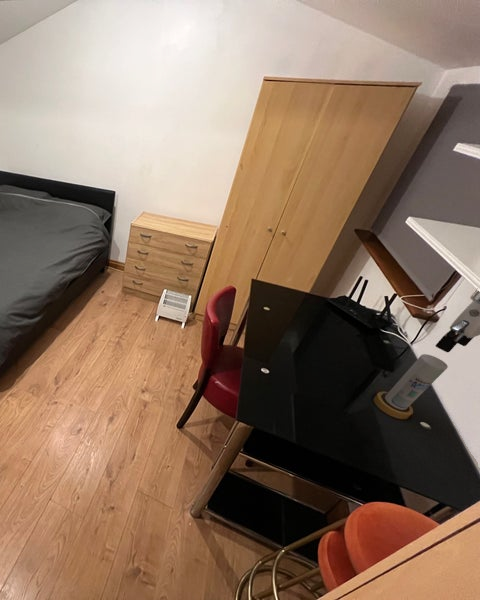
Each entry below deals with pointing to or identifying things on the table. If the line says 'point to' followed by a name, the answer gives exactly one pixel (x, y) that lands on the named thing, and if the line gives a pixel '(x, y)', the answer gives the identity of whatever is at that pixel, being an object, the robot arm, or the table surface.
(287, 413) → the table surface
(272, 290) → the table surface
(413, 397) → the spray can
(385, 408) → the stand
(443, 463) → the table surface
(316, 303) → the table surface
